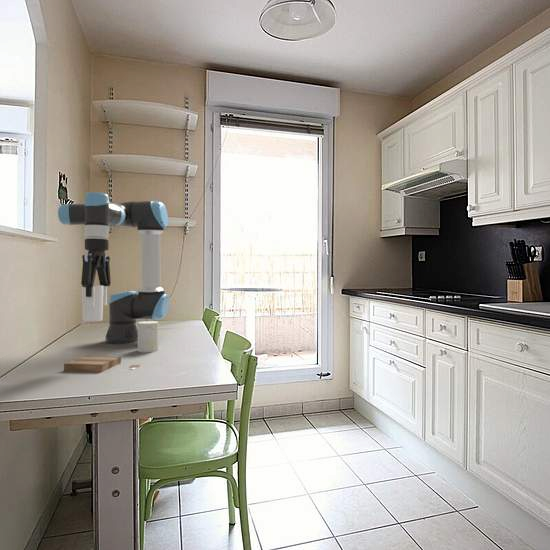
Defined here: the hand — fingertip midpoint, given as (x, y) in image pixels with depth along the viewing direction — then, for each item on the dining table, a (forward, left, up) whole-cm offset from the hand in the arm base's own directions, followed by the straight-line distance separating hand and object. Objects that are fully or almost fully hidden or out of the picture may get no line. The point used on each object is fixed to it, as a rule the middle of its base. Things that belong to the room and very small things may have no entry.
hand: (96, 305), depth 141 cm
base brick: (0, -1, -22) cm, 22 cm away
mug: (-1, -2, -5) cm, 6 cm away
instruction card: (0, +13, -21) cm, 25 cm away
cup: (-29, +6, -21) cm, 37 cm away
